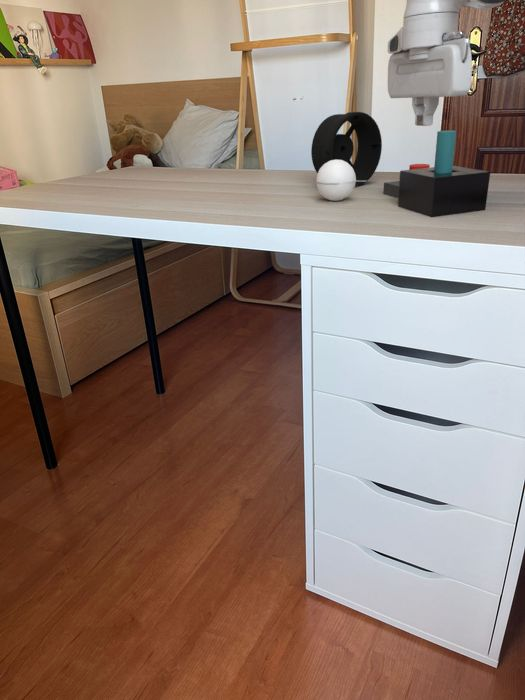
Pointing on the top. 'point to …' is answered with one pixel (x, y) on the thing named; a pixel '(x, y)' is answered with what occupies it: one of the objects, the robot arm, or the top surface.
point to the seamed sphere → (336, 180)
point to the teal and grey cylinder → (444, 151)
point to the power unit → (391, 189)
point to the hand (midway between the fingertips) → (423, 125)
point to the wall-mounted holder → (348, 144)
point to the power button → (418, 166)
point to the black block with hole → (443, 191)
